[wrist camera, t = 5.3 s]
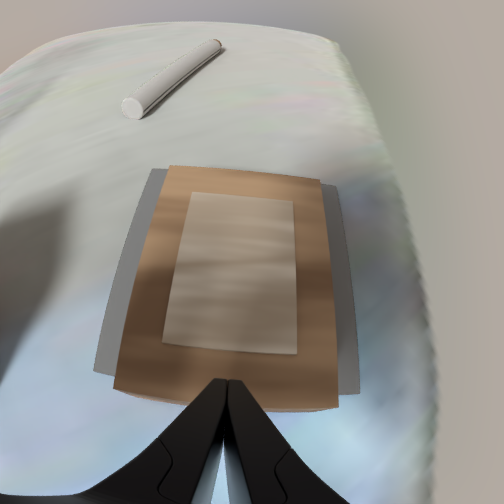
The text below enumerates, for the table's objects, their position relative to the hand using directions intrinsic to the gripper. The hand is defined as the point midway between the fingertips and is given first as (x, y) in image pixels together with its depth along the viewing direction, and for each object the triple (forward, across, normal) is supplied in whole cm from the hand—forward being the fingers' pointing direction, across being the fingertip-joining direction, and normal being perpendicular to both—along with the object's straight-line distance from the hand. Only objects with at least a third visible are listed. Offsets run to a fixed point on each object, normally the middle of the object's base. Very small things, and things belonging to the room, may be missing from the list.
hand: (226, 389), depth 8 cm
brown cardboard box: (+4, 0, +4) cm, 6 cm away
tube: (+34, +10, -21) cm, 41 cm away
